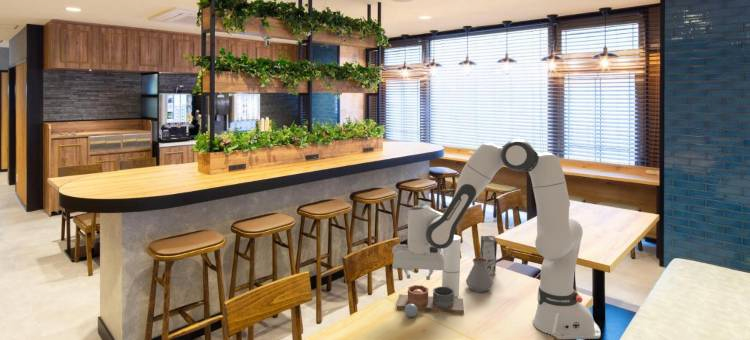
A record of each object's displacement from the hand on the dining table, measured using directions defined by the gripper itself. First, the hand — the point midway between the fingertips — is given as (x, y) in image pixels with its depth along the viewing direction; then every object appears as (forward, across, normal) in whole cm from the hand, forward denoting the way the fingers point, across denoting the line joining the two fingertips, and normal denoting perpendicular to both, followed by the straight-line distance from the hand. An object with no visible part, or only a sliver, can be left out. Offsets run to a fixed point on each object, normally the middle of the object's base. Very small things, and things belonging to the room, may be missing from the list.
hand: (418, 278), depth 178 cm
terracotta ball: (+7, 0, 0) cm, 7 cm away
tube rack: (+11, +5, 0) cm, 12 cm away
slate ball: (+9, -2, -10) cm, 13 cm away
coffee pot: (+11, +30, +21) cm, 38 cm away
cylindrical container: (+11, +13, +12) cm, 21 cm away
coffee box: (+11, +31, +40) cm, 51 cm away
